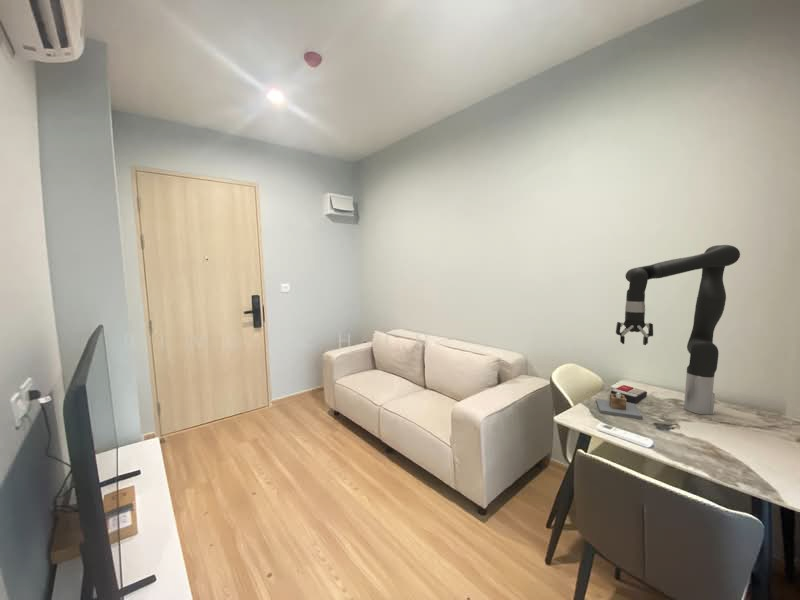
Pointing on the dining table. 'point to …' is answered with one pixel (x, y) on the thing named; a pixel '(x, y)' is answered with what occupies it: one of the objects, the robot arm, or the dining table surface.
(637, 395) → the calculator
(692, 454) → the dining table surface
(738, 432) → the dining table surface
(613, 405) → the brown boxy piece
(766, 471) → the dining table surface
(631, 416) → the board
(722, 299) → the robot arm
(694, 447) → the dining table surface
